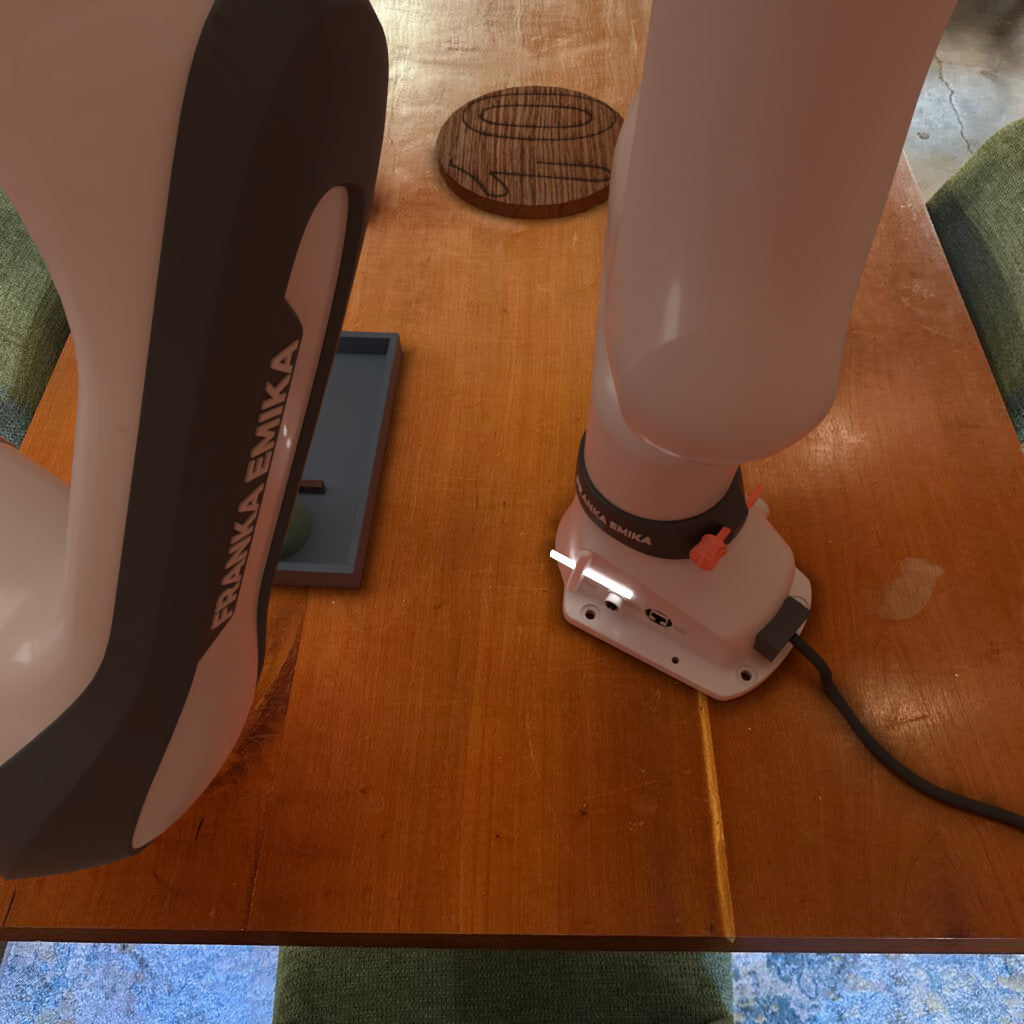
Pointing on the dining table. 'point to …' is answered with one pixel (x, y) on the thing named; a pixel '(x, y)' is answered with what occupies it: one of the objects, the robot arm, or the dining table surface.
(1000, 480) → the dining table surface
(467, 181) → the trivet
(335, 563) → the tray
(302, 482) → the bar
